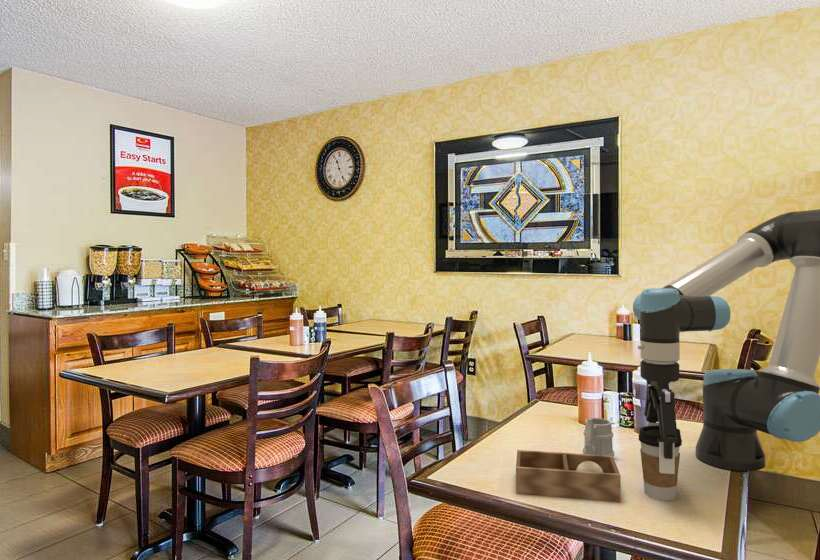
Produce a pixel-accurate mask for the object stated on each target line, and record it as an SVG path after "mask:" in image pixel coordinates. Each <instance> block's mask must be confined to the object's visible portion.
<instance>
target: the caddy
mask: <svg viewBox="0 0 820 560" xmlns="http://www.w3.org/2000/svg"><path fill="white" fill-rule="evenodd" d="M515 460H516V462H515V494H516V495H524V496H526V495H527V496H536V497H537V496H539V497H550V498H563V499H573V500H574V499H575V500H587V501H598V502H599V501H601V502H611V503H621V502H622V501H621V499H622V498H621V497H622V496H621V495H622V494H621V493H622V492H621V490H622V489H621V483H622V482H621V479H622V477H621V474H620V470H619V468H618V466H617V463H616V461H615V459H614V457H613V456H606V455H591V454H583V453H574V452H573V453H571V452H556V451H555V452H554V451H541V450H524V449H517V451H516V459H515ZM585 461H592V462H595V463H596V464H598V465H599V466H600V467H601V468H602V470H603V473H602V472H588V471H576V469H577V467H578V466H579V464H581V463H582V462H585Z"/></svg>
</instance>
